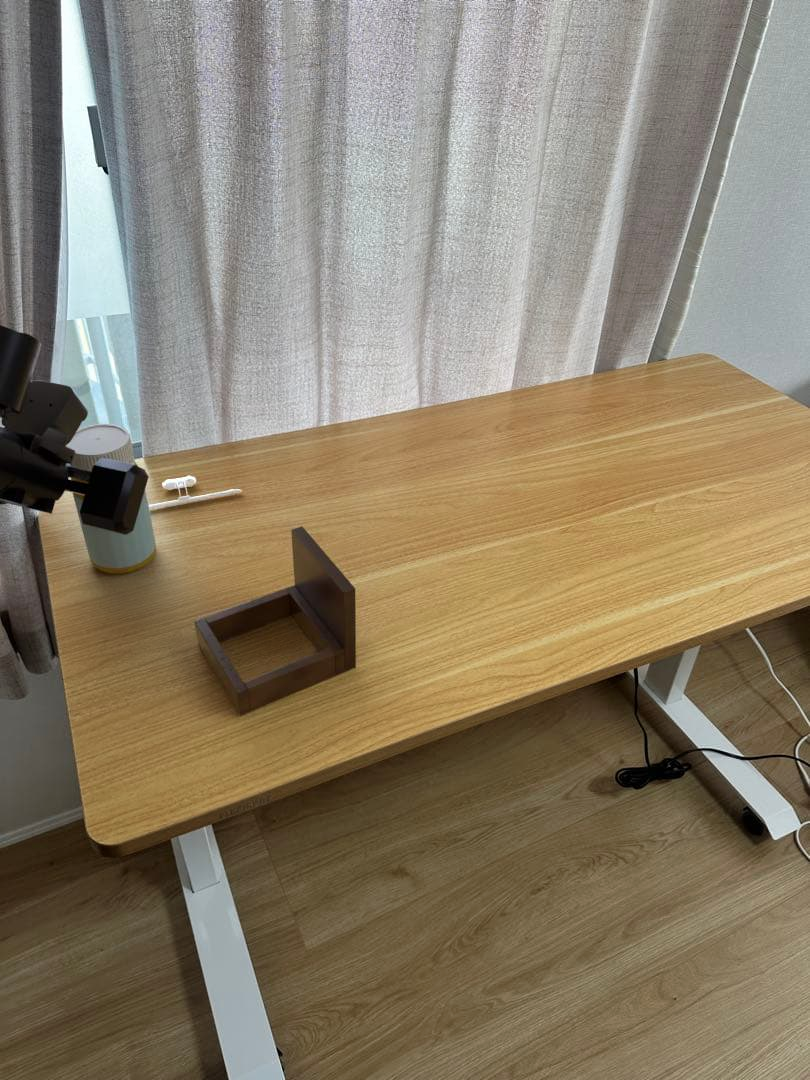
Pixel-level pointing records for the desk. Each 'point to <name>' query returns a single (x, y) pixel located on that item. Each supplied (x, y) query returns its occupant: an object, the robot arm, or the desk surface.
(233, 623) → the tray
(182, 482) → the picture light
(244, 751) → the desk surface
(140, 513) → the bottle
